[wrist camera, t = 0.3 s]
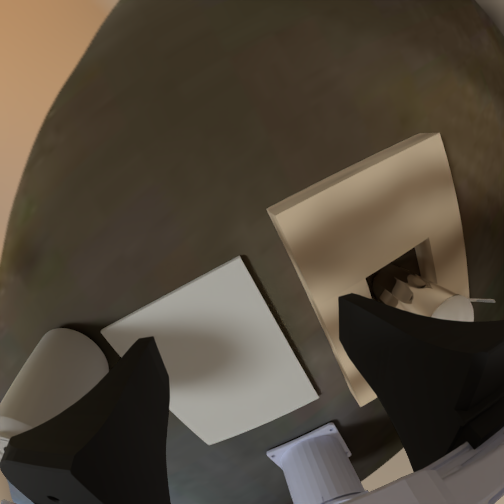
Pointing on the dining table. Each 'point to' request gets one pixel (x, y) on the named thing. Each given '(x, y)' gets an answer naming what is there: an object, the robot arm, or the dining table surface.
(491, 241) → the dining table surface
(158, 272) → the dining table surface
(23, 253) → the dining table surface
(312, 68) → the dining table surface
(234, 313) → the grey mat
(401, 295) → the milkshake
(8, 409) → the beverage can
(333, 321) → the pocket holder
